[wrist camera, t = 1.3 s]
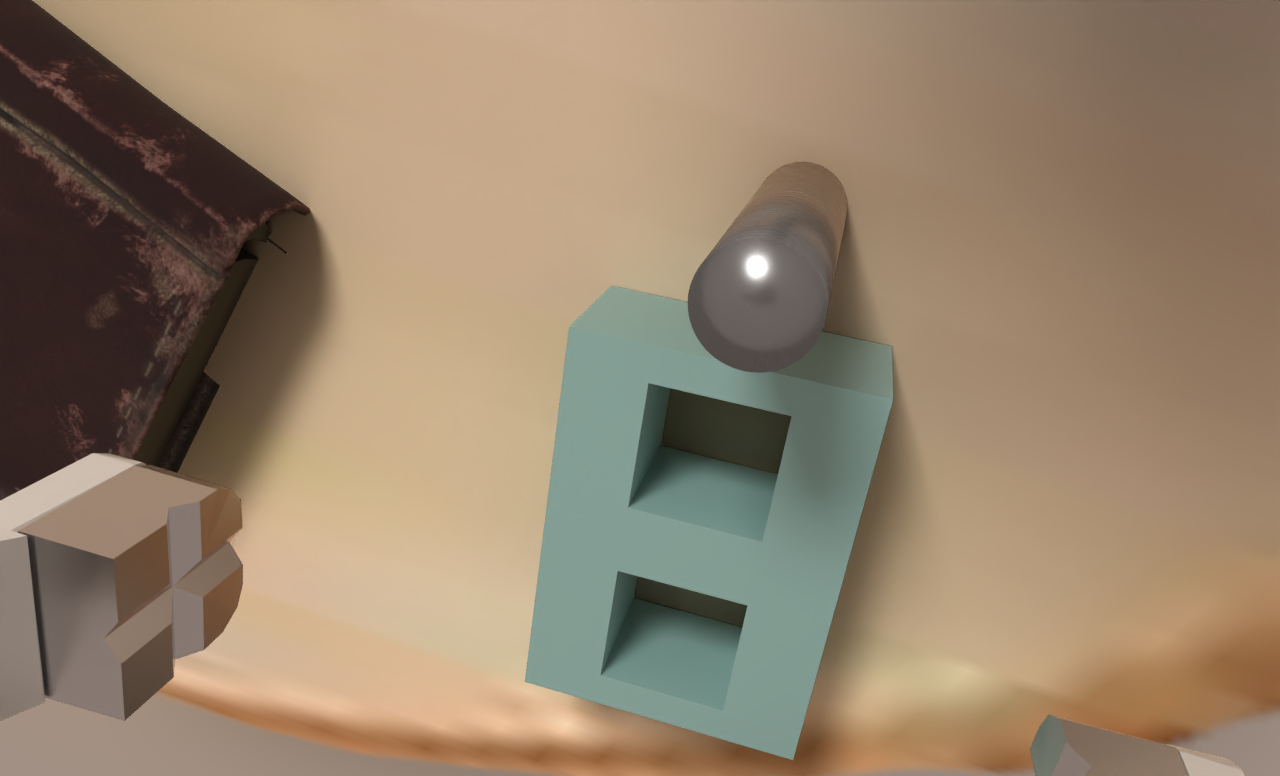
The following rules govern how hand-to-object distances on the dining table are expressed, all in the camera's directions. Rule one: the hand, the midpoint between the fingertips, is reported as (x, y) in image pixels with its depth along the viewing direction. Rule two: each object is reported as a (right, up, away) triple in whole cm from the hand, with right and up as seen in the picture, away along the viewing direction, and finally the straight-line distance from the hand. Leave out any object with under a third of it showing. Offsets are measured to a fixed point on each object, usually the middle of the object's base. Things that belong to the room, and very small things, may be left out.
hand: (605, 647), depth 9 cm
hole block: (+3, -1, +26) cm, 27 cm away
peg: (+6, +8, +22) cm, 24 cm away
